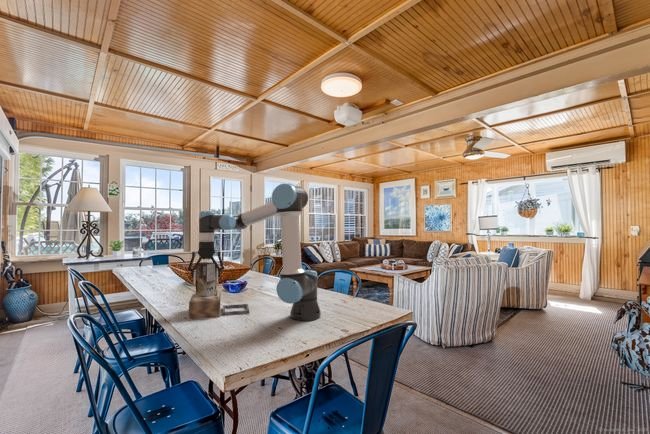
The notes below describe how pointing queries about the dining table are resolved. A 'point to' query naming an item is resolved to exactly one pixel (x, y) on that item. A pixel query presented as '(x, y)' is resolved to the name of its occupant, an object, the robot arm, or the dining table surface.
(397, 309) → the dining table surface
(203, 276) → the coffee box
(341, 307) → the dining table surface
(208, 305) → the walnut caddy
